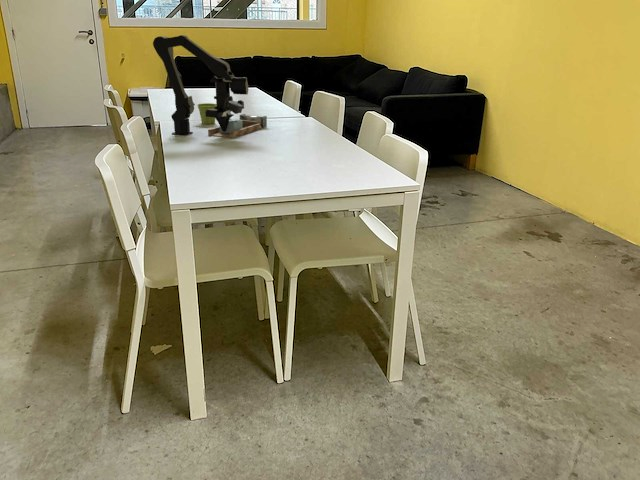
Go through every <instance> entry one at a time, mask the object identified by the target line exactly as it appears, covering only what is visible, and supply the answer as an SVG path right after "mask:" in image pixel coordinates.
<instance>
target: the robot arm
mask: <svg viewBox="0 0 640 480" xmlns="http://www.w3.org/2000/svg"><path fill="white" fill-rule="evenodd" d="M152 46H153V49H154V50H155V52H156V54H157V56H158V57H159V58H160V60H161V61H162V63H163V65H164V68H165V71H166V74H167V77H168V80H169V83H170V86H171V89H172V91H173V94H174V104H175V111H174V112H173V113H172V114H171V119H172V121H173V126H174V127H173V129H174V132H171V135H176V136H177V135H178V136H187V135H191V134H193V133H194V132H193V131H191V127H190V125H191V124H190V123H191V122H190V117H191V114H193V113H194V111H195V103H194V101H193V96H192V95H188V94H187V93H186V91H185V88H184V85H183V81H182V78H181V76H180V73H179V70H178V67H177V64H176V61H175V58H174V48H175V47H182V48H184V49H185V50H187V51H188V52H189V53H191V55H193V56H195V57H196V58H198V59H199V60H200V61H201V62H203V63H204V64H205V65H206V66H207V67H208V68H209V70H210V71H211V72H212V73H213V74H214V75H213V77H212V78H211V80H210V82H209V83H214V84H215V95H214V96H213V99H214V100H215V102H216V103H215V104H216V106H214V109H207V110H206V111H205V116H206V117H214V118H215V121H217V124H219V126H220V127H221V129H222V131H223V132H226V129H227V126H228V122H229V119H232V117H233V116H235V114H236V115H238V114H242V111H243V110H244V109H245V102H244V100H243V99H242V100H241V99H239V100H238V101H236V100H234V98H233V96H232V95H231V93H233V95H246V96H247V95H248V94H249V84H248V77H245V76H243V77H236V76H235V74H234V73H233V72H232V70H231V66H230V64H229V63H228V62H227V61H225V60H223V59H221V58H219V57H216V56H214V55H212V54H210V53H209V52H208V51H206V50H205V49H203V47H202V46H200V45H199V44H197V43H196V42H195V41H193V40H192V39H190V37H188V36H187V35H185V34H181V35H178V36H172V37H168V36H165V35H163V36H156V37H155V38H154V39H153V41H152ZM232 113H233V114H232Z"/></svg>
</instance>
